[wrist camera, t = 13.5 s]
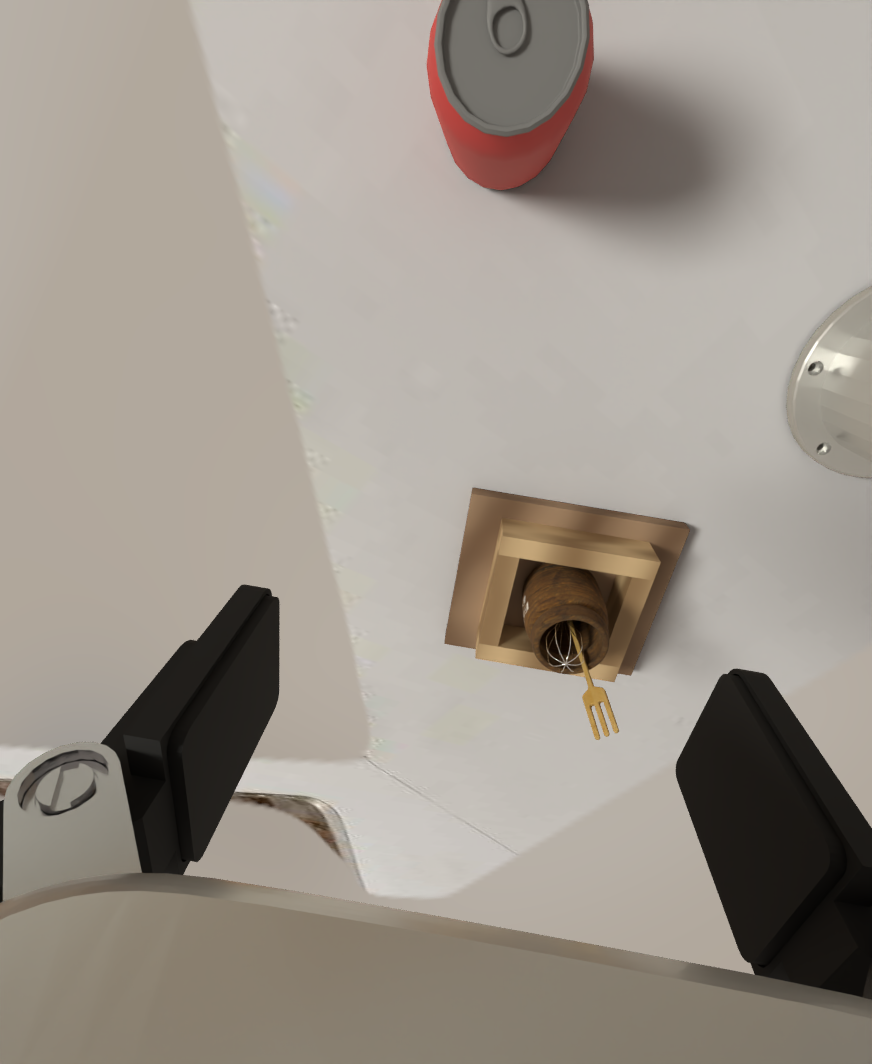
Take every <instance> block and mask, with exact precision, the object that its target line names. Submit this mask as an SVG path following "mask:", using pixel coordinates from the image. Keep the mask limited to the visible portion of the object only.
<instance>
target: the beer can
mask: <svg viewBox="0 0 872 1064" xmlns="http://www.w3.org/2000/svg"><path fill="white" fill-rule="evenodd" d="M593 60H594V48H593V22H592V17H591V13H590V10H589V4H588V1H587V0H442V1H441V4H440V6H439V9H438V12H437V14H436V17H435V20H434V23H433V25H432V28H431V32H430V40H429V49H428V58H427V71H428V79H429V86H430V94H431V99H432V102H433V105H434V107H435V110H436V113H437V116H438V119H439V122H440V124H441V127H442V130H443V133H444V136H445V139H446V141H447V144H448V146H449V149H450V151H451V154H452V156H453V159H454V161H455V163H456V164H457V166H458V167H459V168H460V169H461V170H462V172H463V173H464V174H465V175H466V176H467V178H469V179H470V180H472V181H474V182H475V183H477V184H479V185H481V186H482V187H485V188H491V189H497V190H505V189H510V188H515V187H519V186H521V185H523V184H524V183H526V182H528V181H529V180H531V179H533V178H534V177H536V176H537V175H538V174H539V172H540V171H541V170H542V169H543V168H544V167H545V166H546V165H547V164H548V162H549V161H550V160H551V158H552V156H553V154H554V152H555V151H556V149H557V147H558V145H559V143H560V142H561V140H562V138H563V136H564V134H565V133H566V131H567V129H568V127H569V125H570V123H571V122H572V120H573V118H574V116H575V114H576V112H577V110H578V108H579V106H580V104H581V102H582V100H583V98H584V96H585V94H586V91H587V87H588V82H589V78H590V73H591V69H592V64H593Z"/></svg>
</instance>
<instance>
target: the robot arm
mask: <svg viewBox="0 0 872 1064" xmlns="http://www.w3.org/2000/svg"><path fill="white" fill-rule="evenodd" d="M811 364H812V366H811V368H810V369H808V368H809V366H810V365H811ZM786 408H787V416H788V423H789V426H790V429H791V431H792V434H793V437H794V439H795V440H796V441H797V443H798V444H799V446H800V447H801V449H802V450H803V451H804V452H805V453H806V454H807V455H809V456H810V457H811V458H812V459H813V460H815V461H816V462H818V463H820V464H821V465H823V466H825V467H826V468H828V469H830V470H833V471H836V472H838V473H841V474H844V475H849V476H855V477H861V478H872V286H871V287H869V288H867V289H865V290H864V291H862V292H860V293H859V294H857V295H855V296H854V297H852V298H851V299H850V300H848V301H847V302H846V303H845V304H843V305H842V306H841V307H840V308H838V309H837V310H836V311H835V312H833V313H832V314H831V315H830V316H829V317H828V319H827V320H826V321H825V322H824V323H823V324H822V325H821V326H820V327H819V328H818V329H817V330H816V331H815V333H814V334H813V336H812V337H811V339H810V340H809V341H808V343H807V344H806V346H805V347H804V349H803V350H802V352H801V354H800V356H799V358H798V361H797V363H796V365H795V367H794V369H793V372H792V375H791V379H790V382H789V386H788V392H787V403H786ZM278 696H279V599H278V598H277V597H273V596H272V593H271V590H270V589H267V588H261V587H256V586H250V585H241V586H240V587H239V588H238V590H237V591H236V592H235V593H234V595H233V596H232V597H231V598H230V600H229V601H228V602H227V603H226V605H225V606H224V607H223V609H222V610H221V611H220V612H219V614H218V615H217V616H216V617H215V619H214V620H213V621H212V622H211V624H210V625H209V626H208V628H207V629H206V630H205V631H204V633H203V634H202V635H201V636H200V638H199V639H198V640H197V641H194V640H189V641H186V642H185V643H184V644H182V645H181V646H180V647H179V649H178V650H177V651H176V652H175V654H174V655H173V656H172V657H171V658H170V660H169V661H168V662H167V663H166V664H165V666H164V667H163V668H162V669H161V671H160V672H159V673H158V674H157V675H156V677H155V678H154V679H153V681H152V682H151V683H150V684H149V685H148V686H147V688H146V689H145V690H144V691H143V693H142V694H141V695H140V696H139V697H138V699H137V700H136V701H135V702H134V704H133V705H132V706H131V707H130V708H129V710H128V711H127V712H126V713H125V714H124V716H123V717H122V718H121V719H120V721H119V722H118V723H117V724H116V726H115V727H114V728H113V729H112V730H111V732H110V733H109V734H108V735H107V736H106V738H105V739H104V740H103V741H102V742H101V744H99V743H95V742H77V743H72V744H68V745H64V746H60V747H58V748H55V749H53V750H50V751H48V752H46V753H44V754H42V755H41V756H39V757H37V758H36V759H34V760H33V761H31V762H30V763H28V764H27V765H26V766H25V767H24V768H23V769H22V770H21V771H20V772H19V773H18V774H17V775H16V776H15V777H14V779H13V780H12V782H11V783H10V785H9V786H8V788H7V790H6V794H5V799H4V800H2V801H0V1064H872V828H871V827H870V825H869V824H868V822H867V821H866V819H865V818H864V816H863V815H862V813H861V812H860V810H859V809H858V807H857V806H856V804H855V803H854V802H853V800H852V799H851V797H850V796H849V794H848V793H847V791H846V790H845V788H844V787H843V785H842V784H841V782H840V781H839V779H838V778H837V777H836V775H835V774H834V772H833V771H832V769H831V768H830V766H829V765H828V763H827V762H826V760H825V759H824V758H823V756H822V754H821V753H820V751H819V750H818V749H817V747H816V746H815V744H814V743H813V741H812V740H811V738H810V737H809V735H808V734H807V732H806V731H805V729H804V728H803V726H802V725H801V723H800V722H799V720H798V719H797V718H796V716H795V715H794V713H793V712H792V710H791V709H790V707H789V706H788V704H787V703H786V701H785V700H784V698H783V697H782V695H781V694H780V692H779V691H778V690H777V688H776V687H775V685H774V684H773V682H772V681H771V679H770V678H769V677H768V676H767V675H766V674H764V673H759V672H754V671H748V670H742V669H733V670H731V671H730V672H729V673H728V674H723V675H722V676H721V677H720V678H719V680H718V682H717V684H716V686H715V688H714V690H713V692H712V694H711V696H710V698H709V700H708V702H707V704H706V706H705V707H704V709H703V711H702V713H701V715H700V717H699V719H698V721H697V723H696V725H695V727H694V729H693V731H692V733H691V735H690V737H689V739H688V741H687V743H686V745H685V747H684V749H683V751H682V753H681V755H680V757H679V759H678V761H677V764H676V777H677V781H678V784H679V787H680V789H681V792H682V795H683V797H684V800H685V803H686V806H687V809H688V811H689V814H690V817H691V820H692V822H693V825H694V828H695V831H696V833H697V836H698V839H699V842H700V844H701V847H702V850H703V853H704V855H705V858H706V861H707V863H708V866H709V869H710V872H711V875H712V877H713V880H714V883H715V886H716V889H717V891H718V894H719V897H720V900H721V902H722V905H723V908H724V911H725V913H726V916H727V919H728V921H729V924H730V927H731V930H732V933H733V935H734V938H735V941H736V944H737V946H738V949H739V951H740V953H741V955H742V957H743V958H744V960H746V961H747V962H749V963H751V965H752V968H753V971H754V974H755V975H753V974H748V973H742V972H737V971H732V970H726V969H721V968H716V967H711V966H705V965H700V964H695V963H689V962H684V961H679V960H673V959H668V958H663V957H657V956H652V955H646V954H642V953H636V952H631V951H626V950H620V949H615V948H610V947H604V946H599V945H593V944H587V943H582V942H577V941H571V940H566V939H560V938H555V937H550V936H544V935H539V934H533V933H528V932H522V931H517V930H511V929H506V928H500V927H495V926H489V925H483V924H478V923H473V922H467V921H461V920H456V919H450V918H445V917H439V916H433V915H428V914H422V913H417V912H411V911H405V910H400V909H394V908H389V907H383V906H377V905H372V904H366V903H360V902H355V901H349V900H343V899H337V898H332V897H326V896H321V895H315V894H309V893H304V892H297V891H290V890H284V889H278V888H272V887H266V886H259V885H253V884H246V883H240V882H233V881H228V880H221V879H215V878H205V877H196V876H186V875H183V874H184V872H185V870H186V868H187V866H188V864H189V862H190V861H194V862H198V861H199V860H200V859H201V857H202V856H203V854H204V852H205V850H206V848H207V846H208V844H209V842H210V840H211V838H212V836H213V834H214V832H215V830H216V828H217V826H218V824H219V822H220V820H221V818H222V815H223V813H224V811H225V809H226V807H227V805H228V803H229V801H230V799H231V797H232V795H233V793H234V791H235V789H236V787H237V785H238V783H239V781H240V779H241V777H242V775H243V773H244V771H245V769H246V767H247V765H248V763H249V761H250V758H251V756H252V754H253V752H254V750H255V748H256V746H257V744H258V742H259V740H260V738H261V736H262V734H263V732H264V730H265V728H266V726H267V724H268V722H269V720H270V718H271V716H272V714H273V712H274V709H275V707H276V704H277V701H278Z"/></svg>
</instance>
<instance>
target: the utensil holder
mask: <svg viewBox="0 0 872 1064" xmlns="http://www.w3.org/2000/svg"><path fill="white" fill-rule="evenodd" d="M522 608H523V618H524V625H525V629H526V632H527V635H528V637H529V639H530V641H531V646H532V649H533V651H534V654H535V656H536V658H537V659H538V661H539V662H540V663H541V664H542V665H543V666H545V667H546V668H548V669H550V670H552V671H554V672H557V673H562V674H578V673H583V672H584V674H585V677H586V681H587V684H588V690H587V691H586V692H585V693H584V695H583V697H582V698H583V702H584V705H585V708H586V711H587V714H588V718H589V721H590V724H591V727H592V730H593V733H594V737H595V739H596V740H599V739H600V735H599V732H598V729H597V725H596V722H595V719H594V716H593V712H592V709H591V707H592V706H595V708H596V711H597V714H598V717H599V720H600V723H601V726H602V729H603V732H604V735H605V736H606V737H607V736H609V731H608V728H607V725H606V722H605V718H604V715H603V712H602V709H601V706H600V703H601V702H604V705H605V708H606V711H607V713H608V716H609V719H610V722H611V725H612V728H613V731H614V732H615V733H618V732H619V729H618V726H617V723H616V720H615V717H614V714H613V711H612V709H611V706H610V703H609V700H608V697H607V694H606V691H605V690H604V689H603V688H601V687H594V685H593V682H592V679H591V676H590V673H589V670H591V669H592V668H594V667H596V666H597V665H598V664H599V663H600V662H601V661H602V660H603V659H604V658H605V656H606V654H607V652H608V649H609V631H608V614H607V610H606V606H605V603H604V600H603V597H602V594H601V591H600V588H599V586H598V583H597V581H596V579H595V578H594V576H593V575H592V573H591V572H590V571H589V570H587V569H581V568H575V567H569V566H563V565H557V564H551V563H543V564H541V565H539V566H538V567H536V568H535V569H534V570H533V571H532V572H531V573H530V574H529V575H528V577H527V578H526V580H525V582H524V585H523V590H522Z"/></svg>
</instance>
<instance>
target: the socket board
mask: <svg viewBox="0 0 872 1064" xmlns="http://www.w3.org/2000/svg"><path fill="white" fill-rule="evenodd" d="M689 532H690V529H689V528H688V526H687V525H686V524H685V523H683V522H677V521H671V520H665V519H659V518H653V517H647V516H641V515H635V514H629V513H623V512H617V511H611V510H605V509H599V508H593V507H587V506H581V505H575V504H568V503H562V502H556V501H550V500H544V499H538V498H532V497H526V496H520V495H514V494H508V493H502V492H496V491H490V490H484V489H478V488H473V489H472V494H471V499H470V505H469V510H468V516H467V521H466V526H465V532H464V537H463V543H462V548H461V554H460V559H459V564H458V570H457V575H456V581H455V586H454V592H453V597H452V602H451V608H450V613H449V619H448V624H447V629H446V635H445V643H444V644H449V645H455V646H461V647H467V648H473V649H476V657H475V658H477V659H482V660H488V661H494V662H500V663H506V664H511V665H517V666H523V667H529V668H535V669H540V670H546V671H552V670H550V669H548V668H546V667H545V666H543V665H542V664H541V663H540V662H539V661H538V659H537V658H536V656H535V654H534V651H533V649H532V646H531V641H530V639H529V637H528V635H527V632H526V629H525V625H524V618H523V608H522V590H523V585H524V582H525V580H526V578H527V577H528V575H529V574H530V573H531V572H532V571H533V570H534V569H535V568H536V567H538V566H539V565H541V564H543V563H551V564H557V565H563V566H569V567H575V568H581V569H587V570H589V571H590V572H591V573H592V575H593V576H594V578H595V579H596V581H597V583H598V586H599V588H600V591H601V594H602V597H603V600H604V603H605V606H606V610H607V614H608V631H609V649H608V652H607V654H606V656H605V658H604V659H603V660H602V661H601V662H600V663H599V664H598V665H597V666H596V667H594V668H592V669H591V670H589V673H590V676H591V678H593V679H599V680H604V681H610V682H614V681H615V679H616V676H617V674H624V675H630V676H631V674H632V672H633V669H634V667H635V664H636V662H637V660H638V657H639V655H640V652H641V650H642V647H643V645H644V642H645V640H646V637H647V635H648V632H649V630H650V628H651V625H652V623H653V620H654V618H655V615H656V613H657V610H658V608H659V605H660V603H661V600H662V598H663V596H664V593H665V591H666V588H667V586H668V583H669V581H670V578H671V576H672V573H673V571H674V568H675V566H676V564H677V561H678V559H679V556H680V554H681V551H682V549H683V546H684V544H685V541H686V539H687V536H688V534H689ZM552 672H554V671H552ZM569 675H575V676H581V677H585V674H584V672H583V673H578V674H569Z"/></svg>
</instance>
